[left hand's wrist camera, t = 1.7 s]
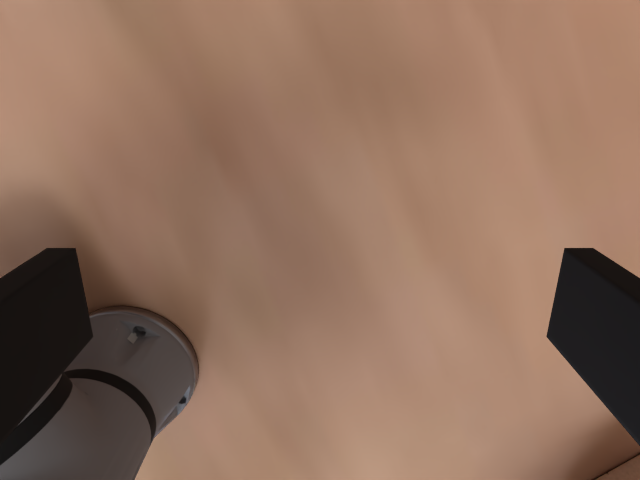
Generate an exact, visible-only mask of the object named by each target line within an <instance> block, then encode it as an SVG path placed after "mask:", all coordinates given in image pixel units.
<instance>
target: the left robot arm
mask: <svg viewBox="0 0 640 480" xmlns="http://www.w3.org/2000/svg"><path fill="white" fill-rule="evenodd" d="M547 338H548V339H549V340H550V341H551V343H552V344H553V345H554V346H555V347H556V348H557V350H558V351H559V352H560V353H561V354H562V355H563V357H564V358H565V359H566V360H567V361H568V362H569V364H570V365H571V366H572V367H573V368H574V369H575V371H576V372H577V373H578V374H579V375H580V376H581V378H582V379H583V380H584V381H585V382H586V383H587V385H588V386H589V387H590V388H591V389H592V390H593V392H594V393H595V394H596V395H597V396H598V398H599V399H600V400H601V401H602V402H603V403H604V405H605V406H606V407H607V408H608V409H609V410H610V412H611V413H612V414H613V415H614V416H615V417H616V419H617V420H618V421H619V422H620V423H621V424H622V426H623V427H624V428H625V429H626V430H627V431H628V433H629V434H630V435H631V436H632V437H633V438H634V440H635V441H636V442H637V443H638V444H639V446H640V278H638V277H637V276H635V275H634V274H632V273H631V272H629V271H628V270H626V269H625V268H623V267H621V266H620V265H618V264H617V263H615V262H614V261H612V260H611V259H609V258H608V257H606V256H604V255H603V254H601V253H600V252H598V251H597V250H595V249H594V248H564V253H563V258H562V263H561V268H560V273H559V278H558V283H557V288H556V293H555V298H554V303H553V308H552V312H551V317H550V322H549V327H548V332H547ZM197 380H198V361H197V357H196V354H195V352H194V349H193V347H192V345H191V344H190V342H189V341H188V339H187V338H186V337H185V335H184V334H183V333H182V332H181V331H180V330H179V329H178V328H177V327H176V326H175V325H173V324H172V323H171V322H169V321H168V320H166V319H165V318H163V317H161V316H159V315H157V314H155V313H153V312H150V311H147V310H144V309H140V308H135V307H128V306H114V307H107V308H103V309H99V310H96V311H94V312H92V313H90V314H89V312H88V308H87V303H86V298H85V293H84V288H83V283H82V278H81V273H80V268H79V263H78V258H77V253H76V248H46V249H45V250H43V251H42V252H40V253H39V254H37V255H36V256H34V257H32V258H31V259H29V260H28V261H26V262H25V263H23V264H22V265H20V266H19V267H17V268H15V269H14V270H12V271H11V272H9V273H8V274H6V275H5V276H3V277H2V278H0V480H135V477H136V475H137V473H138V471H139V469H140V466H141V464H142V462H143V460H144V458H145V456H146V454H147V451H148V449H149V447H150V445H151V443H152V441H153V439H154V437H155V436H156V435H157V434H159V433H160V432H161V431H162V430H163V429H164V428H165V427H166V426H167V425H168V424H169V423H170V422H171V421H172V420H173V419H174V418H175V417H176V416H177V415H178V414H179V413H180V412H181V411H182V410H183V409H184V407H185V406H186V405H187V403H188V402H189V400H190V398H191V396H192V394H193V392H194V389H195V387H196V384H197Z"/></svg>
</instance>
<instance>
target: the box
mask: <svg viewBox="0 0 640 480" xmlns="http://www.w3.org/2000/svg"><path fill="white" fill-rule="evenodd" d="M608 474H609V475H608ZM608 474H607V473H606V474H604V475H603V476H601V477H599V478H597V479H595V480H640V455H638V456H636V457H635V458H633V459H631V460H629V461H628V462H626V463H624V464H622V465H620V466H619V467H617V468H615V469H613V470H611V471H610V472H608Z"/></svg>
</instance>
